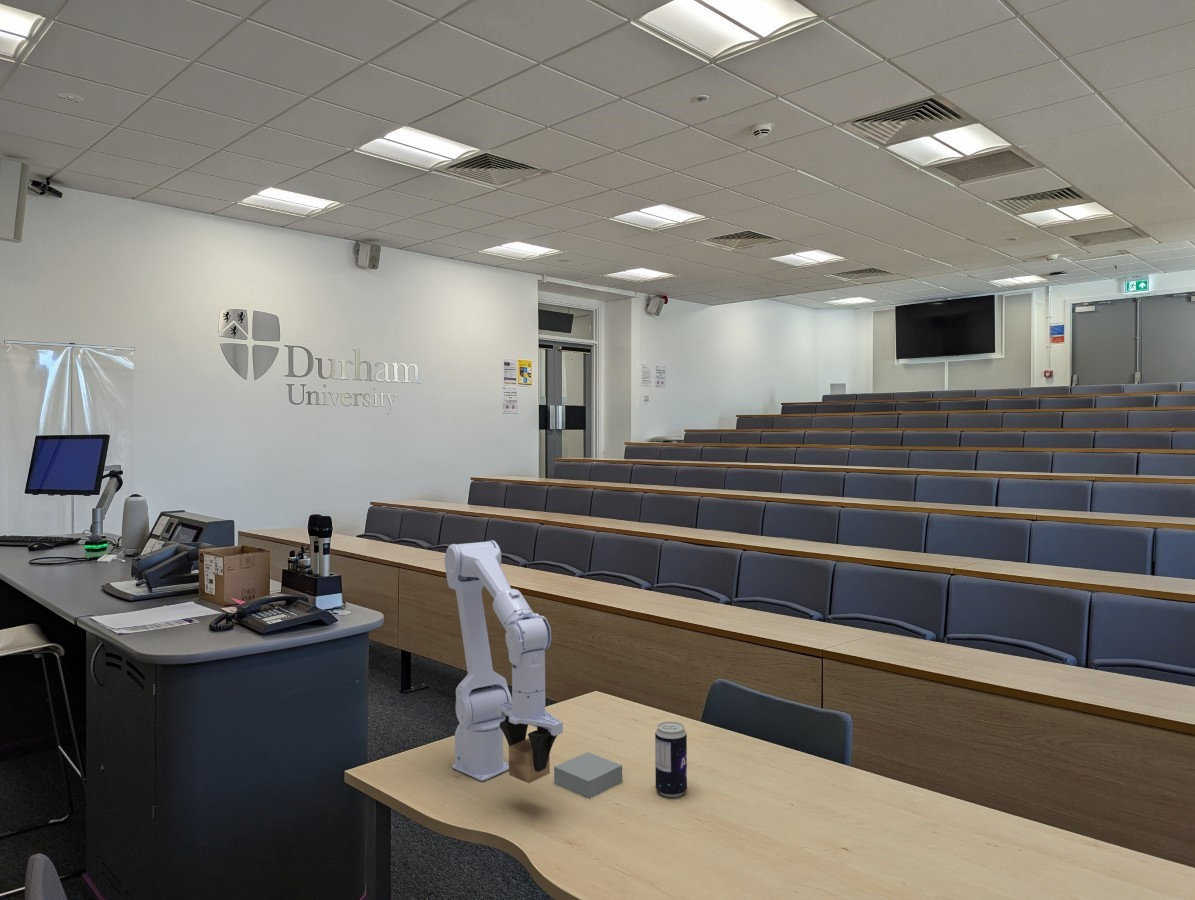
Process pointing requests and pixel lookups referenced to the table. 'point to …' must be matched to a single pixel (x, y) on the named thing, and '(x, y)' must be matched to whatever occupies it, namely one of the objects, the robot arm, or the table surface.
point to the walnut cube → (524, 762)
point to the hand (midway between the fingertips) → (529, 765)
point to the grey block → (588, 774)
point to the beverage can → (671, 759)
